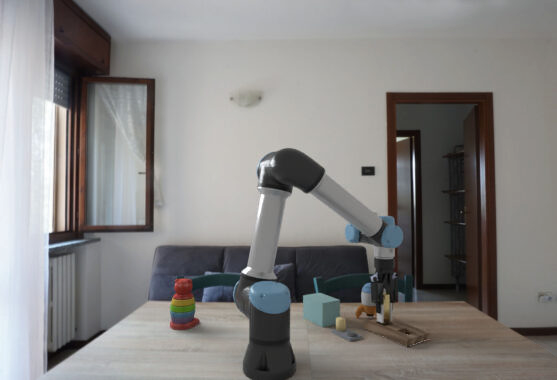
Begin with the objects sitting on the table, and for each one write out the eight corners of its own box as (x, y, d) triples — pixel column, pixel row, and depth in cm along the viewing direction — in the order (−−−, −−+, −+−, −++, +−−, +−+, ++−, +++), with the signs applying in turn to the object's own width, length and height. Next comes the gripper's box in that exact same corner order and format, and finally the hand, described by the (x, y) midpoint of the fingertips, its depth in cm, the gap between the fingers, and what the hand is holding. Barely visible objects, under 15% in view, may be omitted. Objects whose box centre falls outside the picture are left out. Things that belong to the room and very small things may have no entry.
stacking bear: (201, 321, 140) (201, 276, 141) (192, 330, 130) (192, 281, 131) (174, 320, 142) (175, 275, 142) (163, 329, 131) (164, 281, 132)
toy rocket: (386, 324, 141) (381, 288, 139) (359, 328, 141) (354, 293, 139) (378, 312, 151) (374, 278, 149) (354, 316, 151) (348, 283, 150)
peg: (385, 328, 130) (385, 295, 130) (377, 325, 133) (377, 293, 133) (391, 327, 132) (391, 294, 132) (384, 324, 135) (384, 292, 135)
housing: (322, 327, 135) (322, 303, 135) (303, 317, 146) (303, 295, 146) (339, 323, 139) (339, 299, 139) (319, 314, 150) (319, 292, 150)
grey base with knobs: (349, 341, 121) (349, 326, 121) (331, 332, 130) (331, 318, 130) (361, 338, 124) (361, 323, 124) (343, 329, 132) (343, 315, 133)
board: (407, 347, 117) (407, 339, 117) (363, 328, 134) (363, 321, 134) (430, 340, 123) (430, 332, 123) (385, 322, 140) (385, 316, 140)
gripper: (375, 260, 126) (375, 328, 125) (407, 257, 134) (408, 319, 134) (360, 257, 132) (360, 321, 132) (392, 254, 141) (392, 314, 140)
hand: (384, 320), depth 133 cm, fingers open, 4 cm apart
